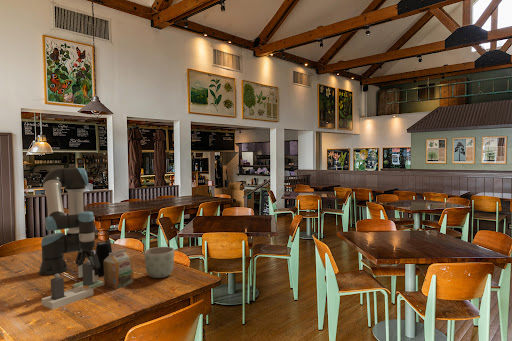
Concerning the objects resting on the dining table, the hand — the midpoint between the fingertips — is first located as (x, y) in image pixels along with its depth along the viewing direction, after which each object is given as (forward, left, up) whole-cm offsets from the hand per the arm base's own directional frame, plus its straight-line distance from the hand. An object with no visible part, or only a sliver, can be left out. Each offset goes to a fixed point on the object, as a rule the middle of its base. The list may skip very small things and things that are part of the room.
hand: (88, 279), depth 188 cm
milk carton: (+12, +10, -4) cm, 17 cm away
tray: (0, 0, -4) cm, 4 cm away
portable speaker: (-12, +17, -4) cm, 21 cm away
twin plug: (+9, -21, -4) cm, 23 cm away
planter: (+20, +32, -4) cm, 38 cm away
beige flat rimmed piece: (+9, -16, -4) cm, 19 cm away
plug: (0, 0, -4) cm, 4 cm away
